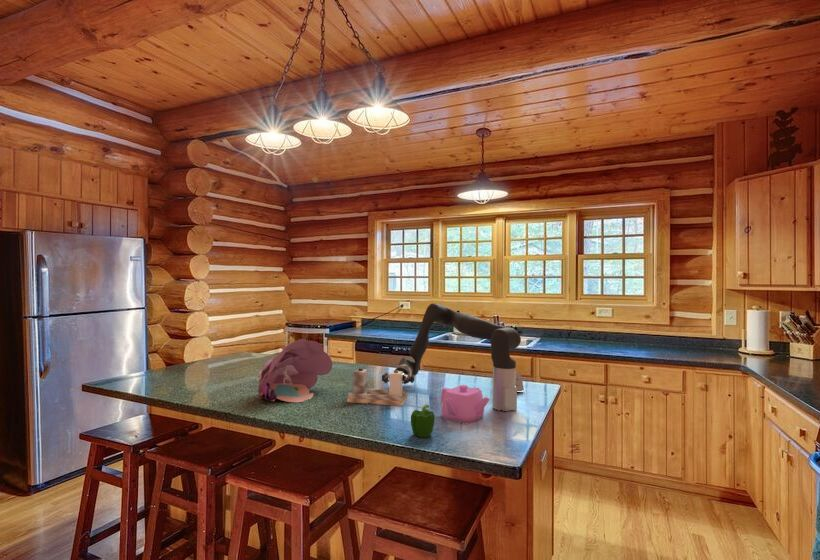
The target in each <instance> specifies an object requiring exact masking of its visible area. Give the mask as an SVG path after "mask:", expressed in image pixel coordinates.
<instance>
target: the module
mask: <svg viewBox="0 0 820 560" xmlns="http://www.w3.org/2000/svg"><path fill="white" fill-rule="evenodd" d="M389 374H390V379H389V378H388V380H389V381H388V383H389V384H388V385H389V388H388V390H389V395H392V396H402V391H403V384H402V382H403V371H398V370H395V369H394V370H392V371H391V372H390V373H389Z"/></svg>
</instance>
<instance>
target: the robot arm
mask: <svg viewBox="0 0 820 560" xmlns="http://www.w3.org/2000/svg"><path fill="white" fill-rule="evenodd" d="M433 324H440V325H446V326H451V327H452V328H455V329H456V330H457V332H459V333H461V334H463V335H465V336H468V337H471V338H475V339H481V340H489V341H490V355H491V356H490V357H491V360H492V409H494V408H495V410H496V409H497V411H500V410H503V411H502V412H504V411H507V412H511V411H510V410H514V411H517V410H518V405H517V404H518V393H517V387H516V373H517V369H516V368H517V362H516V360H515V359H514V358H511V355H510V351H512V350H515V349H517V348H518V347H519V346H520V344H521V342H522V341H521V340H522V338H521V335H520V333H519V332H518V331H517V330H516V329H515V328H513V327H508V326H504V325H498V324H496V323H493V322H490V321H488V320H485V319H483V318H480V317H477V316H475V315H472V314H469V313H464V312H458V311H456V310H453V309H452V308H449V307H448V306H446V305H443V304H439V303H436V302H435V303H434V302H433V303H432V302H431V303H430V304H429V305H428V306H427V308H426V310H425V311H424V315H423V317H422V320H421V323H420V327H419V329H418V333H417V335H416V338H415V340H414V342H413V344H412V345H411V347H410V349H409V352H408V354H409V356H410V357H411V358H412V359H410V358H409V357H405V356H404V357H402V358H401V359H400V360H399V363H398V366H397V367H396V368H395V369H394V370H398V371H403V382H402V385H407V384H409V383H411V384H414V382H415V381H416V380H415V377H416V375H418V373H419V371H420V368H421V367H420V366H421V361H422V359H423V357H424V355H425V353H426V350H427V349H428V346H429V340H430V339H429V337H430V331H431V328H432V326H433ZM389 379H390V373H388V372H385V373H384V374H382V375H381V382H383V383H384V384H388V383H389Z"/></svg>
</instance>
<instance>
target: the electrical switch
mask: <svg viewBox="0 0 820 560" xmlns="http://www.w3.org/2000/svg"><path fill="white" fill-rule="evenodd" d="M516 387H517V391H522V390H524V391H525V388H524V384H523V378H522V373H521V372H520V371H519V372H516Z"/></svg>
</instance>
